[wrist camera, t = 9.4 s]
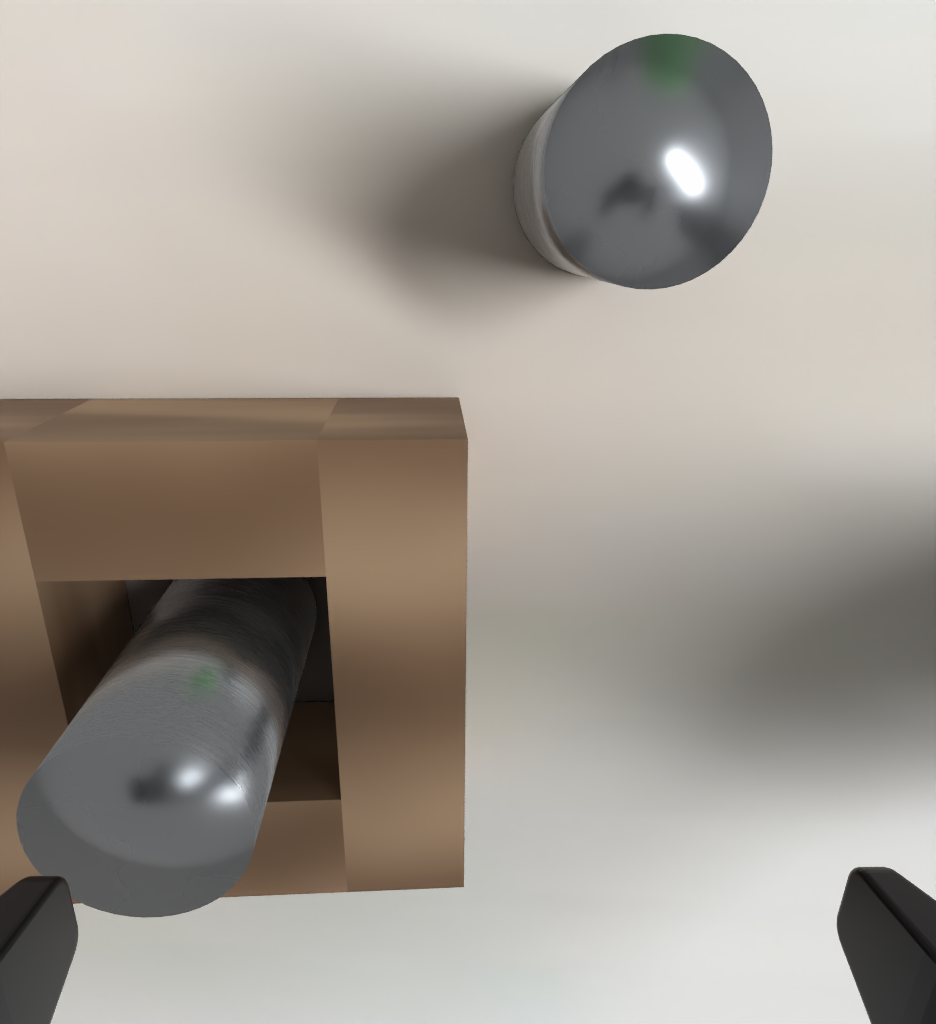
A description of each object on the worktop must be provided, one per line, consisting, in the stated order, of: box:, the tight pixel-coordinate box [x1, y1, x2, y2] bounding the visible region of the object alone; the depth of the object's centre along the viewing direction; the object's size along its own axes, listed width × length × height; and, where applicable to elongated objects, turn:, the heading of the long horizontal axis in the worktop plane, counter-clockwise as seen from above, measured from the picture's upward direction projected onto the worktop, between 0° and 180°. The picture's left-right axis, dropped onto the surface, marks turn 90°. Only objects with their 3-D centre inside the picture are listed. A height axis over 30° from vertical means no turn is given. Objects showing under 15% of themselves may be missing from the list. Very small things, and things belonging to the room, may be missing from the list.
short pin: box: [514, 34, 772, 289], centre depth 15 cm, size 4×4×4 cm
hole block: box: [0, 398, 468, 904], centre depth 18 cm, size 12×12×4 cm
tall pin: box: [16, 577, 317, 917], centre depth 16 cm, size 4×4×8 cm
